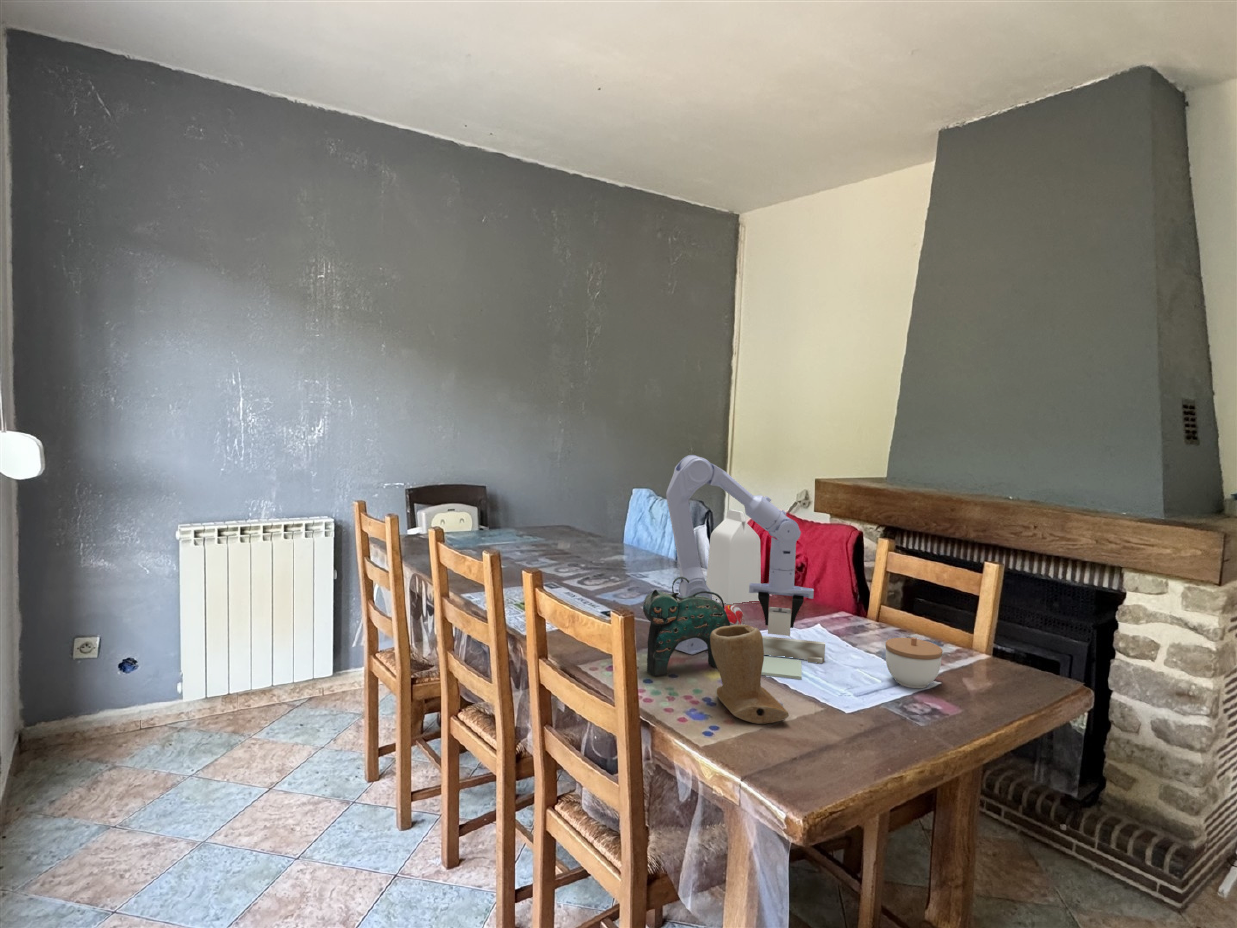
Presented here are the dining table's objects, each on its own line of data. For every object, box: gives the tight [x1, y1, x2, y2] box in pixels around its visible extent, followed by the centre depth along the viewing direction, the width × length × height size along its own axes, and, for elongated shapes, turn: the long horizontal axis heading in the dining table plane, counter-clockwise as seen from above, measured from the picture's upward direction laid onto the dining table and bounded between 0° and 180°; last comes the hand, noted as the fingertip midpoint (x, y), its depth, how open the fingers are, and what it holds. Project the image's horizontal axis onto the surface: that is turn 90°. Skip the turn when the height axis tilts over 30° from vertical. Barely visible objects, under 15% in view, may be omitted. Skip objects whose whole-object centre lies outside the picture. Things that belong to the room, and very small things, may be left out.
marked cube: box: [767, 606, 792, 637], centre depth 163 cm, size 5×5×5 cm
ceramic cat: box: [642, 576, 730, 678], centre depth 147 cm, size 20×6×20 cm, turn 112°
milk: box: [705, 508, 762, 605], centre depth 205 cm, size 12×12×26 cm
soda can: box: [724, 604, 746, 626], centre depth 167 cm, size 7×7×12 cm
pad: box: [761, 656, 803, 680], centre depth 149 cm, size 10×10×1 cm
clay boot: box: [710, 624, 790, 725], centre depth 127 cm, size 15×12×15 cm
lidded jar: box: [885, 636, 943, 689], centre depth 143 cm, size 11×11×9 cm
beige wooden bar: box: [762, 635, 826, 664], centre depth 157 cm, size 20×4×4 cm, turn 76°
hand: (779, 625), depth 163 cm, fingers closed on marked cube, 5 cm apart
